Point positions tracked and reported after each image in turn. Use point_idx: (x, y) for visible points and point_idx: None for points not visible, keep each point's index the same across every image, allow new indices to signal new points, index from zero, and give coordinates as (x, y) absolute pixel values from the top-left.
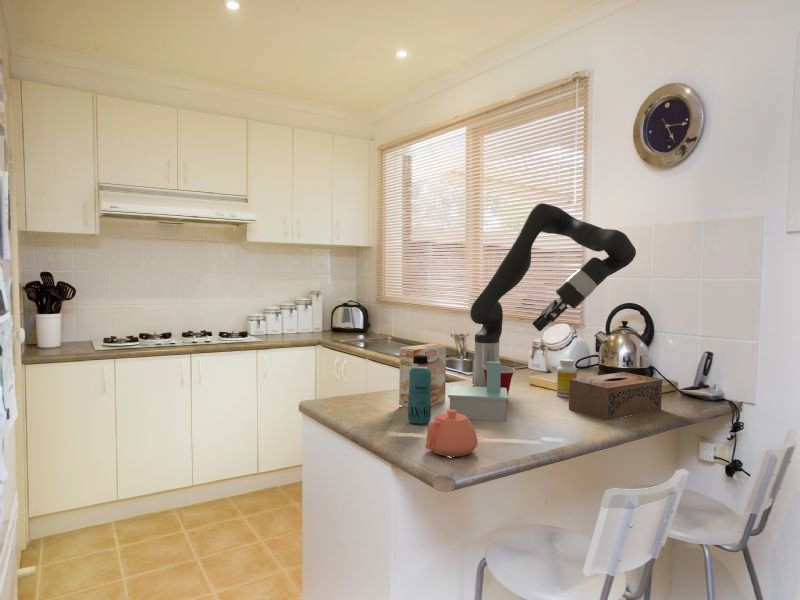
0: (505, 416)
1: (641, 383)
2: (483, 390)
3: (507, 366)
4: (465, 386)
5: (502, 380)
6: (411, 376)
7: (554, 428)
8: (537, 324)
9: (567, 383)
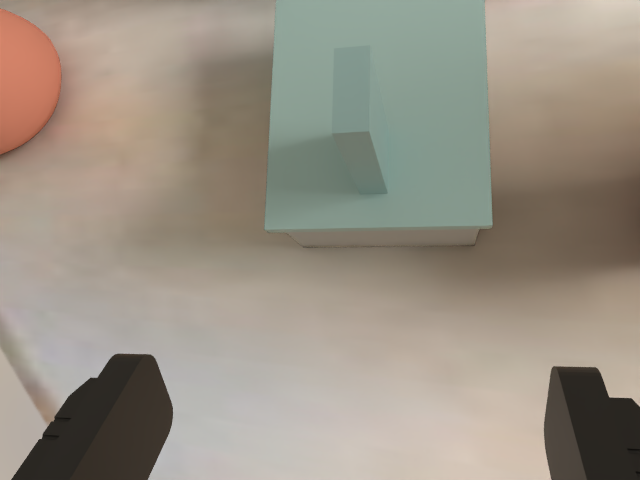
0: (296, 240)
1: None
2: (399, 112)
3: None
4: (477, 20)
5: None
6: None
7: (273, 440)
8: (97, 388)
9: None
